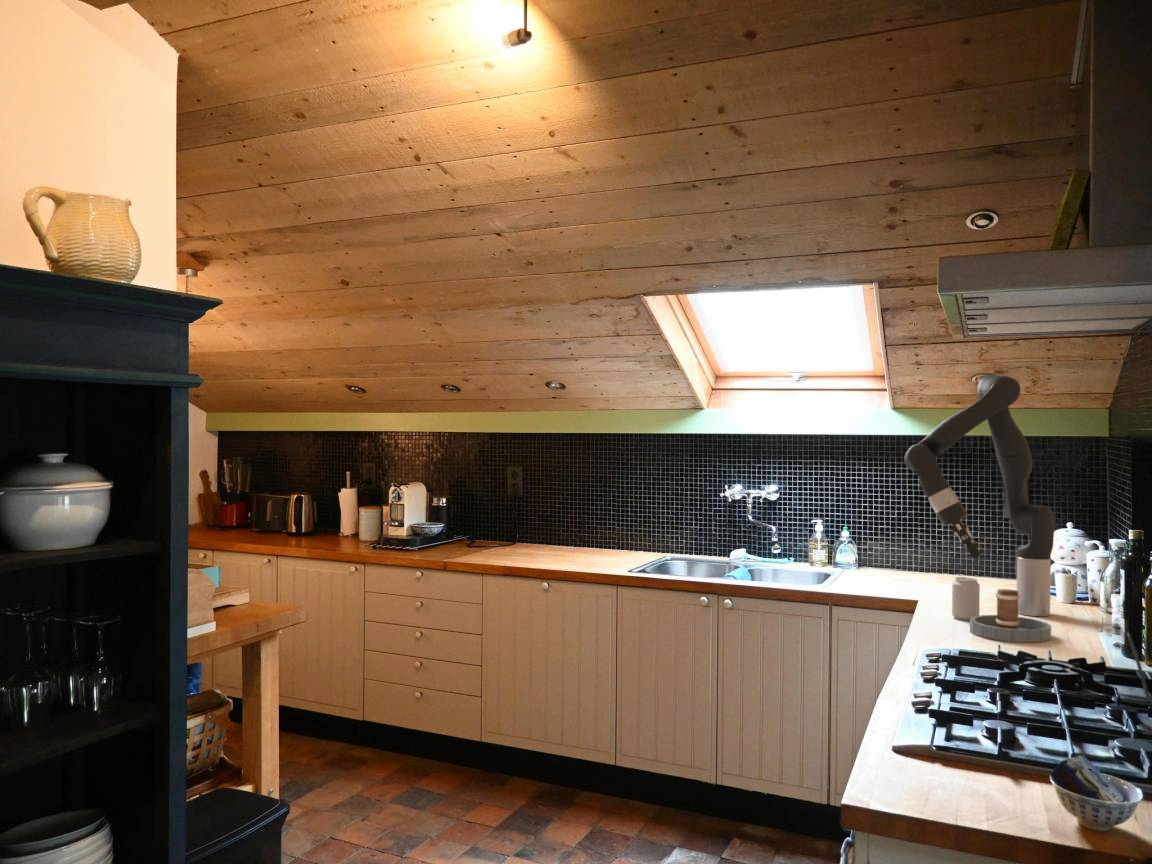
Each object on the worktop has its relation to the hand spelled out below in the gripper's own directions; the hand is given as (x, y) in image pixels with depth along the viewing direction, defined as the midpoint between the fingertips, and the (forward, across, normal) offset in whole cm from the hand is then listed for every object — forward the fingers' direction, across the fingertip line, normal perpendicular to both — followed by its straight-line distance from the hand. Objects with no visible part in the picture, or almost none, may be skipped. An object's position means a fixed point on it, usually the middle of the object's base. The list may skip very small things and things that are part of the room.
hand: (977, 556), depth 259 cm
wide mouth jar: (+15, +11, +12) cm, 22 cm away
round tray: (+22, -7, +3) cm, 23 cm away
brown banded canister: (+21, -7, +3) cm, 22 cm away
